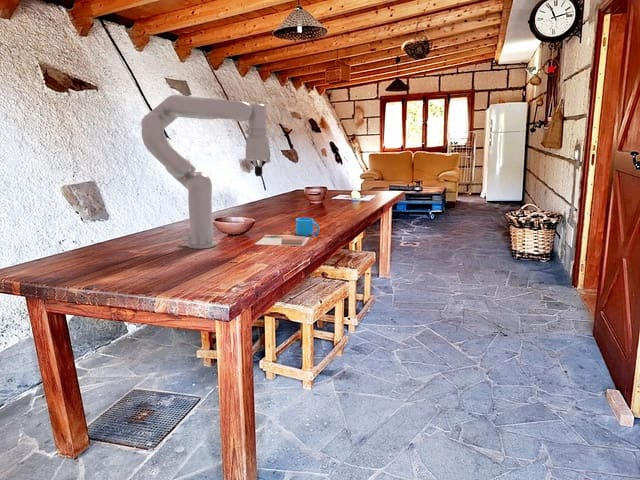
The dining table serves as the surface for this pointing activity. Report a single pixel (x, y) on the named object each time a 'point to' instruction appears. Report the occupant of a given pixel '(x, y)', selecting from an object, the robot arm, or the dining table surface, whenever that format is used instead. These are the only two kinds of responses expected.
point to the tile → (293, 239)
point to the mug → (305, 226)
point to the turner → (278, 236)
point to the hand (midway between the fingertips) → (258, 176)
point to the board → (277, 241)
